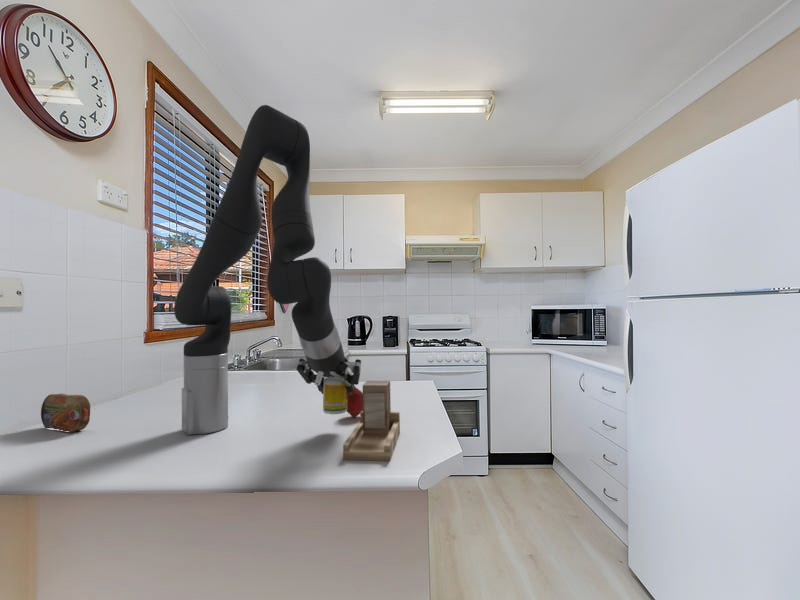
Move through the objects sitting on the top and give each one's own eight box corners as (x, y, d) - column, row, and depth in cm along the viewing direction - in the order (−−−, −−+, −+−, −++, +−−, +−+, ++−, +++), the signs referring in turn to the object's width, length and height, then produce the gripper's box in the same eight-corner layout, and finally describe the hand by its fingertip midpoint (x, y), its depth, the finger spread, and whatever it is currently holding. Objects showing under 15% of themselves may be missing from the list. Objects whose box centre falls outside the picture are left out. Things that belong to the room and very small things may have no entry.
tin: (39, 428, 93) (39, 393, 93) (54, 425, 96) (55, 390, 96) (78, 435, 88) (78, 397, 88) (93, 431, 90) (93, 394, 91)
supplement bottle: (320, 410, 89) (320, 367, 89) (343, 407, 91) (343, 366, 91) (326, 416, 84) (326, 371, 84) (350, 413, 86) (350, 369, 86)
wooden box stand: (390, 460, 69) (388, 395, 70) (343, 459, 70) (342, 395, 71) (399, 432, 85) (398, 379, 85) (361, 431, 86) (360, 379, 86)
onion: (368, 414, 101) (367, 383, 101) (363, 420, 95) (363, 387, 95) (346, 413, 101) (345, 383, 102) (340, 420, 96) (340, 387, 96)
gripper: (359, 329, 79) (370, 377, 91) (291, 328, 81) (311, 376, 93) (353, 358, 74) (366, 406, 86) (281, 357, 76) (302, 404, 87)
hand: (337, 390), depth 89 cm, fingers closed on supplement bottle, 5 cm apart
